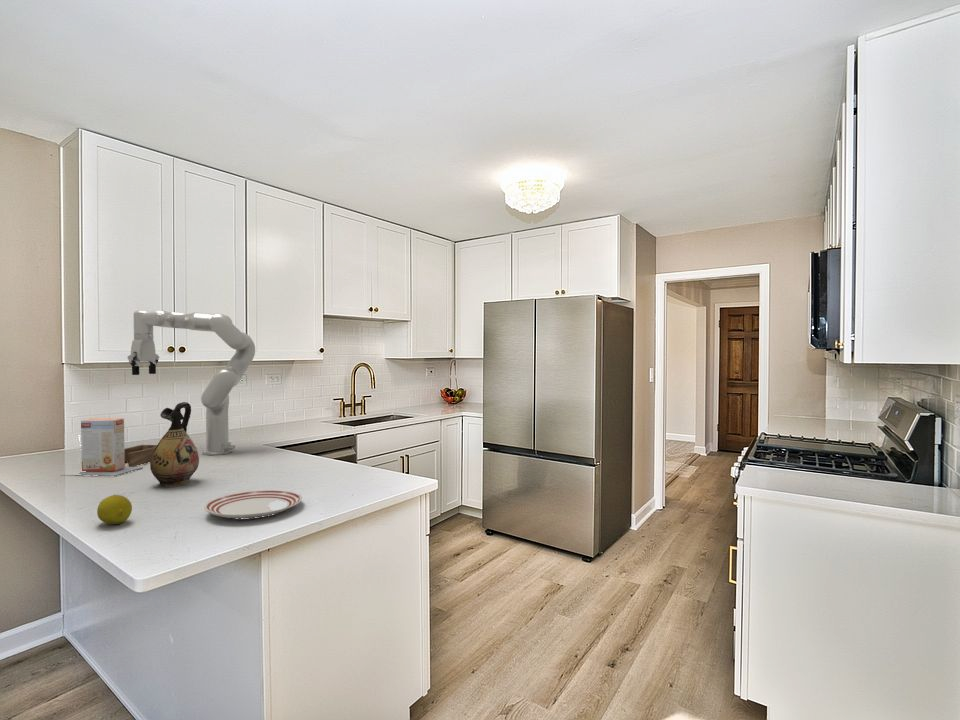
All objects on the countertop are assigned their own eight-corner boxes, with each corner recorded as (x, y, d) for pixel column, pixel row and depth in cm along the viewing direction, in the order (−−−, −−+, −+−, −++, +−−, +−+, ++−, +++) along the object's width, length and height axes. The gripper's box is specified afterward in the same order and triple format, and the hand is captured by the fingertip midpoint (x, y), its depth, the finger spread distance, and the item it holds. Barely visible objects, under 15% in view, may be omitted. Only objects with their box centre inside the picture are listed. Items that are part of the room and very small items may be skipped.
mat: (142, 468, 210) (142, 467, 210) (114, 477, 196) (114, 475, 196) (91, 467, 213) (91, 465, 213) (60, 475, 199) (59, 473, 199)
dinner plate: (272, 493, 174) (272, 483, 174) (319, 508, 157) (319, 497, 157) (188, 513, 153) (187, 502, 152) (231, 533, 136) (231, 520, 136)
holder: (164, 458, 230) (164, 445, 230) (131, 467, 211) (130, 453, 211) (142, 457, 232) (141, 444, 231) (106, 466, 213) (106, 452, 213)
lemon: (136, 524, 143) (135, 496, 142) (102, 531, 137) (101, 502, 137) (126, 515, 150) (126, 489, 150) (94, 522, 144) (93, 494, 144)
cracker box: (125, 468, 207) (125, 418, 207) (114, 472, 201) (113, 420, 201) (93, 468, 208) (92, 417, 208) (81, 471, 202) (80, 419, 202)
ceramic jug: (177, 490, 177) (175, 405, 176) (140, 488, 180) (138, 404, 179) (212, 478, 194) (210, 400, 193) (177, 476, 197) (176, 400, 196)
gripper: (150, 338, 242) (151, 373, 242) (120, 337, 225) (121, 375, 225) (165, 337, 241) (165, 373, 241) (135, 337, 224) (136, 375, 224)
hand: (144, 374), depth 233 cm, fingers open, 9 cm apart
